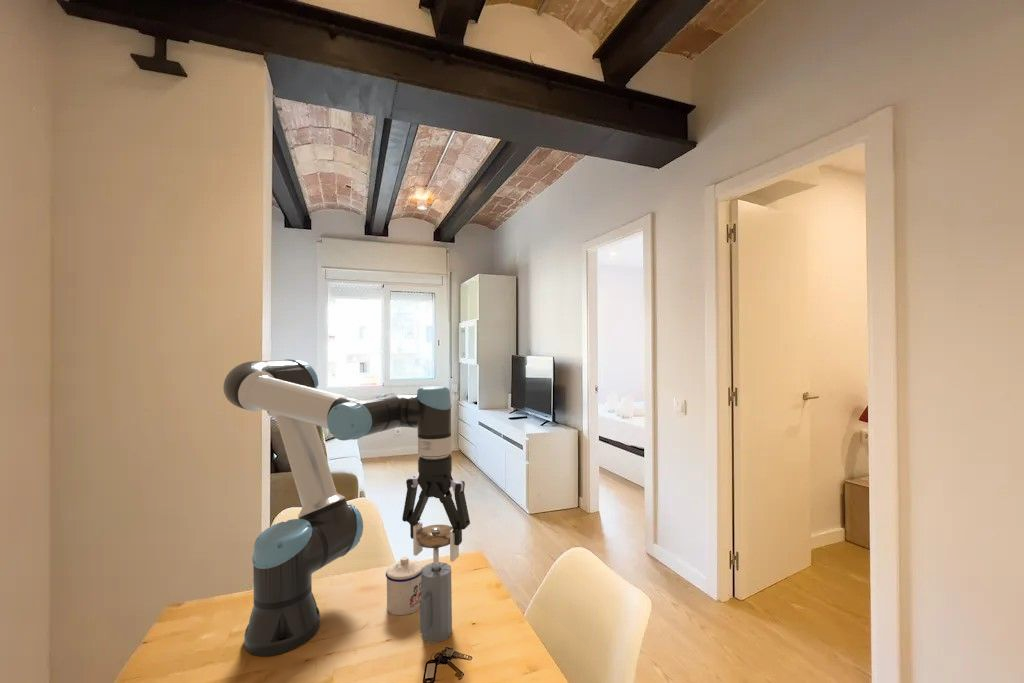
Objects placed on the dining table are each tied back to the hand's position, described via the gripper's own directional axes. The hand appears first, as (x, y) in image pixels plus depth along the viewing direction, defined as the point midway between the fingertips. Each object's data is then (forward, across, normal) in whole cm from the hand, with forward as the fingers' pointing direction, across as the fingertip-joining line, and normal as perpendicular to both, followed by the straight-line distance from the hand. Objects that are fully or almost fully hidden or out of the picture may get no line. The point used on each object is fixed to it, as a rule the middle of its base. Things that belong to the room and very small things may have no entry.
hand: (436, 555), depth 97 cm
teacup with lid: (+17, -13, +8) cm, 23 cm away
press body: (+17, 0, -1) cm, 17 cm away
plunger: (+8, 0, 0) cm, 8 cm away
